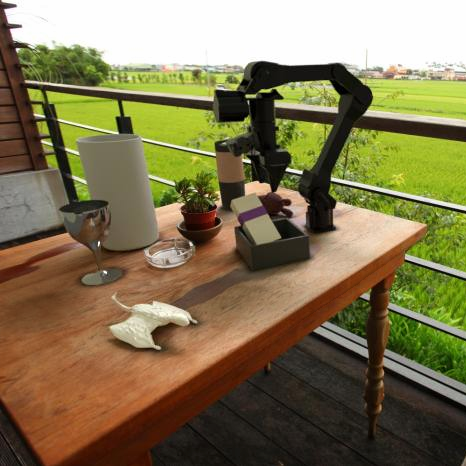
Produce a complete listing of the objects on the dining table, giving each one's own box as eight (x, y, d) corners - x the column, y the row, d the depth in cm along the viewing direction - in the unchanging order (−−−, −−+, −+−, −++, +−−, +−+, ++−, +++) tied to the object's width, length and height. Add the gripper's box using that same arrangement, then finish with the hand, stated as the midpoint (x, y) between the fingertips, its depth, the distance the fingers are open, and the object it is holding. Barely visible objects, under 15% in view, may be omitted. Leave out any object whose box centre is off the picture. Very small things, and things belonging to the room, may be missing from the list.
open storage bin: (288, 238, 98) (287, 217, 96) (309, 257, 88) (309, 235, 86) (236, 248, 92) (234, 226, 90) (252, 270, 82) (250, 247, 80)
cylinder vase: (101, 256, 87) (72, 144, 78) (103, 237, 97) (78, 135, 88) (162, 246, 93) (142, 140, 83) (158, 229, 103) (140, 132, 94)
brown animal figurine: (240, 193, 112) (283, 205, 107) (255, 181, 117) (297, 192, 112) (244, 213, 116) (286, 225, 111) (259, 201, 122) (300, 212, 116)
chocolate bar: (255, 252, 89) (229, 206, 91) (278, 243, 92) (253, 198, 95) (258, 247, 86) (231, 200, 89) (281, 237, 90) (255, 192, 92)
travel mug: (240, 201, 126) (234, 139, 119) (251, 207, 121) (245, 142, 113) (217, 205, 122) (209, 141, 114) (227, 212, 116) (220, 144, 109)
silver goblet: (127, 265, 83) (112, 198, 78) (121, 282, 77) (104, 210, 71) (84, 270, 81) (65, 202, 75) (74, 289, 74) (53, 214, 68)
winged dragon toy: (83, 328, 63) (76, 306, 61) (138, 298, 71) (133, 278, 70) (164, 360, 56) (159, 336, 54) (214, 322, 64) (211, 301, 63)
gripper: (217, 118, 92) (224, 182, 98) (238, 127, 77) (245, 202, 83) (263, 116, 97) (267, 177, 103) (290, 124, 82) (293, 195, 88)
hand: (267, 187), depth 94 cm, fingers open, 9 cm apart
